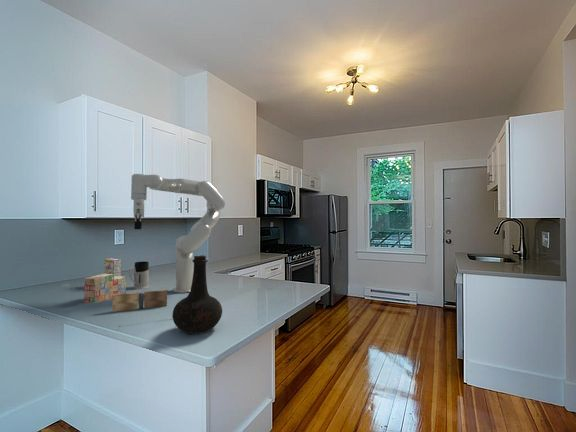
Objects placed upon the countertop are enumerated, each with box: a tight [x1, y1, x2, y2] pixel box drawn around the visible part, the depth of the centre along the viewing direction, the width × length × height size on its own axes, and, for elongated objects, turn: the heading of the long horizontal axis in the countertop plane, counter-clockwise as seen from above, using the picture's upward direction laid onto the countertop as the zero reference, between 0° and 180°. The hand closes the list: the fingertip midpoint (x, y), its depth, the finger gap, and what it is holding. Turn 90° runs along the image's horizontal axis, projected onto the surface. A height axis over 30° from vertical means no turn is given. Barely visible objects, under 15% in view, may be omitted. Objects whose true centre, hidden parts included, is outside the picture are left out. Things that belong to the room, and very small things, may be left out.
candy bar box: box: [103, 257, 122, 277], centre depth 186 cm, size 11×5×16 cm, turn 58°
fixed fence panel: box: [138, 289, 168, 310], centre depth 142 cm, size 12×2×8 cm, turn 116°
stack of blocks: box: [83, 273, 127, 304], centre depth 160 cm, size 21×6×12 cm, turn 168°
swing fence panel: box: [111, 291, 140, 313], centre depth 137 cm, size 10×2×7 cm, turn 116°
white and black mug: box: [128, 261, 150, 290], centre depth 181 cm, size 9×14×15 cm, turn 167°
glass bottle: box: [171, 255, 223, 334], centre depth 117 cm, size 18×18×28 cm
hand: (138, 228), depth 165 cm, fingers open, 9 cm apart
